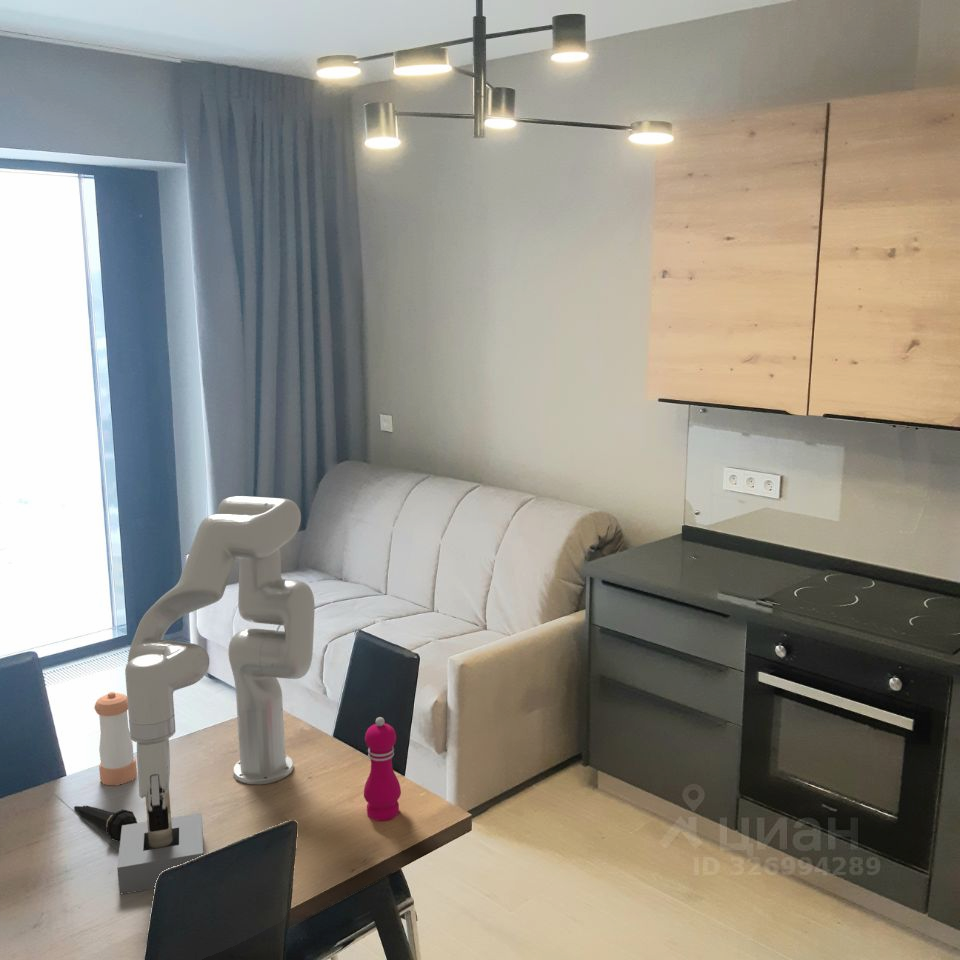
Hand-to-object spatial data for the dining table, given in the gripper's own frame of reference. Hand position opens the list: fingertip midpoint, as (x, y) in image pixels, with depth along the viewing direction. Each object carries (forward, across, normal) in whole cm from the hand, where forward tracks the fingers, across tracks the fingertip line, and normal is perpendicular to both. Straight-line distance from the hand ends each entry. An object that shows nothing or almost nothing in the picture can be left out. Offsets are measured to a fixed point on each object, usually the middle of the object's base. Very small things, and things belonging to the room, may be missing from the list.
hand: (159, 821), depth 169 cm
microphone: (+9, -18, -11) cm, 23 cm away
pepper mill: (+8, -5, +41) cm, 42 cm away
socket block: (+8, 0, 0) cm, 8 cm away
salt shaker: (+8, -37, -10) cm, 39 cm away
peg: (+4, 0, 0) cm, 4 cm away
